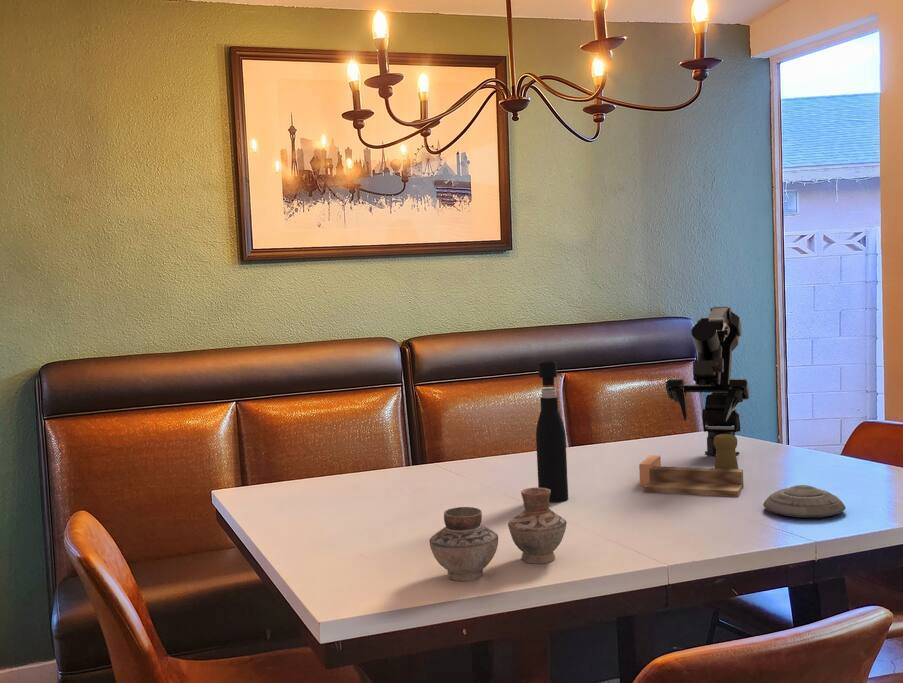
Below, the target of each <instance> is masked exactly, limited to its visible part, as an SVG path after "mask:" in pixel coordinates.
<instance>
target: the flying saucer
mask: <svg viewBox="0 0 903 683" xmlns="http://www.w3.org/2000/svg"><path fill="white" fill-rule="evenodd" d="M762 505H763V506H762V507H764V508H765V509H766V510H768V511H770V512H772V513H774V514H778V515H782V516H786V517H793V518H802V519H803V518H806V519H809V518H812V519H813V518H814V519H815V518H826V517H831V516H832V517H833V516H835V515H838V514H840V513H842V512H844V511H845V510H846V505H845V504H844V502H843V501H842V500H841V499H840V498H838V496H837V495H835V494H833V493H831V492H830V491H827V490H825V489H821V488H817V487H815V486H812V485H807V484H797V485H793V486H790V487H786V488H782V489H778V490H777V491H775V492H774V493H772V494H770V495H769V496H767V498H766V499H765V500H764V502H763V503H762Z"/></svg>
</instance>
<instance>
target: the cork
mask: <svg viewBox="0 0 903 683" xmlns="http://www.w3.org/2000/svg"><path fill="white" fill-rule="evenodd" d="M713 443H714V447H715V448H716V456H714V467H713V468H719V469H739V464H738V459H737V455H736V452H737V451H736V449H737V447H738V438H737V436H736V435H735V436H734V435H731V434H720V435H716V436H715V438H714V441H713ZM735 451H736V452H735Z"/></svg>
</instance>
